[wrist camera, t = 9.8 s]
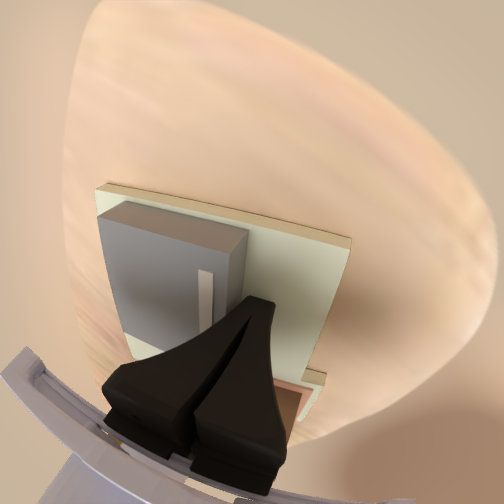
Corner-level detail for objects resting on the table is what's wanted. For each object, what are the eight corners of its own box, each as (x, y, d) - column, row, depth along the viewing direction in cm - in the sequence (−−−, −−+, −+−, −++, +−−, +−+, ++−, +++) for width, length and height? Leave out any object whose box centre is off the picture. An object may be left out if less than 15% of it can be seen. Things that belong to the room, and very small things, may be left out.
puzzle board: (304, 411, 18) (300, 424, 17) (138, 349, 22) (131, 358, 21) (384, 247, 11) (386, 262, 10) (106, 183, 14) (91, 190, 13)
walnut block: (288, 418, 17) (263, 489, 12) (236, 401, 18) (203, 469, 13) (302, 393, 15) (274, 480, 10) (240, 374, 16) (200, 455, 11)
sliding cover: (235, 348, 15) (221, 376, 13) (141, 311, 17) (122, 332, 15) (248, 230, 11) (228, 255, 9) (125, 200, 13) (95, 217, 11)
